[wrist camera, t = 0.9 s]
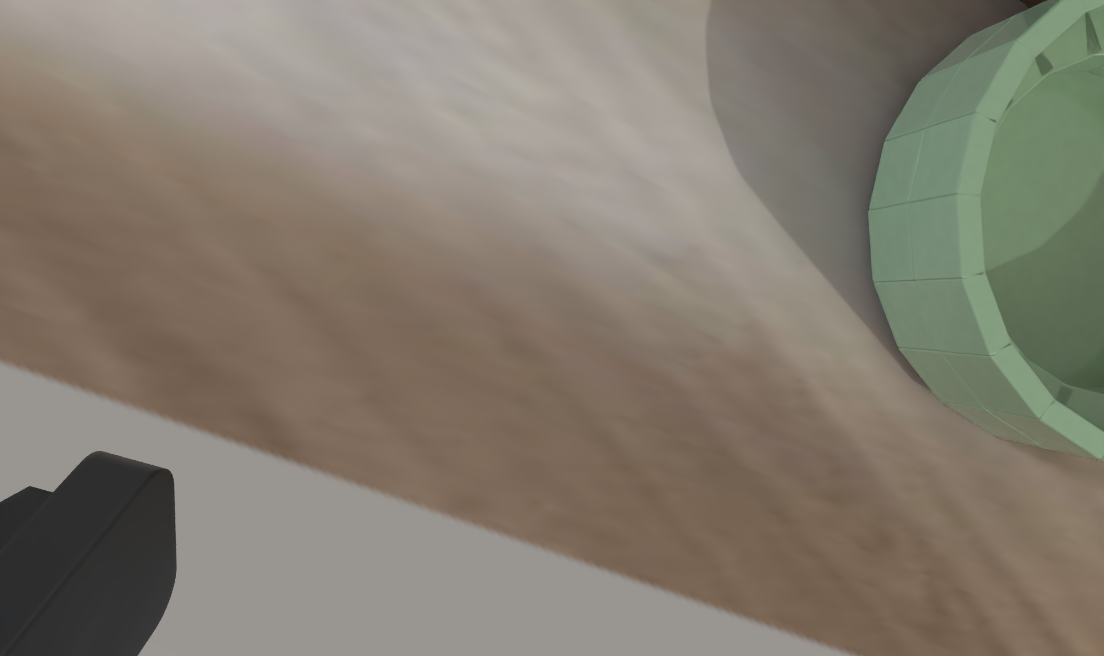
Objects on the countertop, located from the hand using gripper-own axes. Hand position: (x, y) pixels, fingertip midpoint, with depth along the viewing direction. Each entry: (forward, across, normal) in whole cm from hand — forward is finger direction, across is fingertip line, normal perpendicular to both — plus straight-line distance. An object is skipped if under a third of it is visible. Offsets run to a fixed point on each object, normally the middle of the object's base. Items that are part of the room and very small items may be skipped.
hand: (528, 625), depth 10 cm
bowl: (+28, -15, +5) cm, 32 cm away
